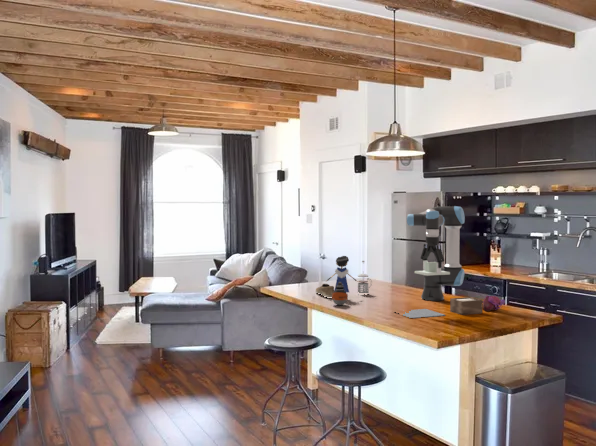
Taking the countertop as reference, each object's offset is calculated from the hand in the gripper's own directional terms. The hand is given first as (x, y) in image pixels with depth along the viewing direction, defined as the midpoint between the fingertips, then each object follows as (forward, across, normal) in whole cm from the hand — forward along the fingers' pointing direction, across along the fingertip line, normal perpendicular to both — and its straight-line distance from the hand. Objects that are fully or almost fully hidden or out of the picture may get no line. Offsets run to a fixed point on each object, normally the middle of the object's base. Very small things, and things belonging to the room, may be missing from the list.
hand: (431, 272), depth 307 cm
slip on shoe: (+25, -84, -31) cm, 93 cm away
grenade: (+25, -45, -39) cm, 65 cm away
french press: (+25, -77, -3) cm, 81 cm away
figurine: (+25, -68, -26) cm, 77 cm away
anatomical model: (+25, +4, +42) cm, 49 cm away
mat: (+25, -2, -8) cm, 26 cm away
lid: (+1, 0, 0) cm, 1 cm away
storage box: (+25, +5, +22) cm, 33 cm away
